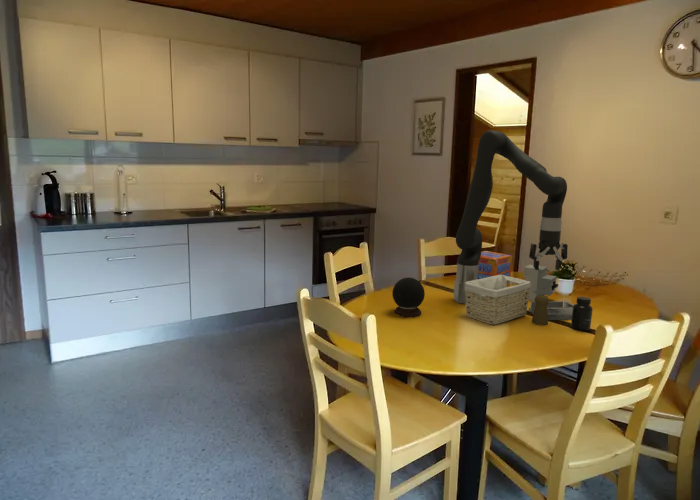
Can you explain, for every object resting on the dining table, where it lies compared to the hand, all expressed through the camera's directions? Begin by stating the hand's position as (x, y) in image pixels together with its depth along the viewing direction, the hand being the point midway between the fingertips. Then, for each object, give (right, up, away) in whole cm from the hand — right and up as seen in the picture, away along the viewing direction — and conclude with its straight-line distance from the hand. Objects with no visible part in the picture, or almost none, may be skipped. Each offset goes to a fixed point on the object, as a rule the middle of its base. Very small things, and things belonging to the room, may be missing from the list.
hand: (547, 269), depth 196 cm
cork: (-2, -21, +1) cm, 21 cm away
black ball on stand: (-53, -19, +11) cm, 58 cm away
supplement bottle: (+11, -23, -5) cm, 25 cm away
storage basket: (-18, -20, +9) cm, 28 cm away
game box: (-7, -10, +59) cm, 60 cm away
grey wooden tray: (+7, -19, +11) cm, 23 cm away
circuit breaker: (+9, -15, +33) cm, 37 cm away
